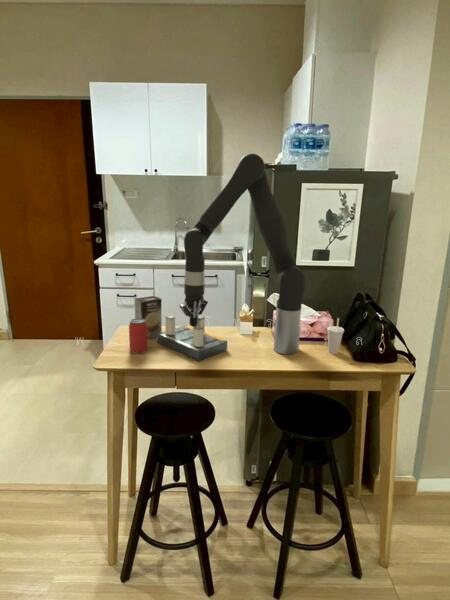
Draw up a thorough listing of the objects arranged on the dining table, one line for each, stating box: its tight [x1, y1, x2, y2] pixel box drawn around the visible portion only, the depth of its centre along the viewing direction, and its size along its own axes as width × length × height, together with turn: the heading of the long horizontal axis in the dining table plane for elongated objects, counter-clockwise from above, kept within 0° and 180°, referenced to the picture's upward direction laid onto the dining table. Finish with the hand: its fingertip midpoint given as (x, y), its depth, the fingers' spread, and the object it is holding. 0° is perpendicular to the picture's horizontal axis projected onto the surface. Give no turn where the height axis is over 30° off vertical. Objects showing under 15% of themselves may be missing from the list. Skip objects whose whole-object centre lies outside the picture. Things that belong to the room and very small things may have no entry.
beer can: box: [128, 318, 149, 354], centre depth 152 cm, size 7×7×12 cm
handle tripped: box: [197, 315, 206, 333], centre depth 160 cm, size 2×3×7 cm
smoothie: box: [326, 317, 345, 355], centre depth 156 cm, size 6×6×14 cm
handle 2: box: [192, 326, 204, 347], centre depth 149 cm, size 2×3×7 cm
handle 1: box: [164, 315, 176, 335], centre depth 159 cm, size 2×3×7 cm
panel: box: [156, 324, 228, 363], centre depth 158 cm, size 15×24×4 cm, turn 47°
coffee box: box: [134, 295, 163, 340], centre depth 167 cm, size 9×6×16 cm
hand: (193, 325), depth 157 cm, fingers closed
